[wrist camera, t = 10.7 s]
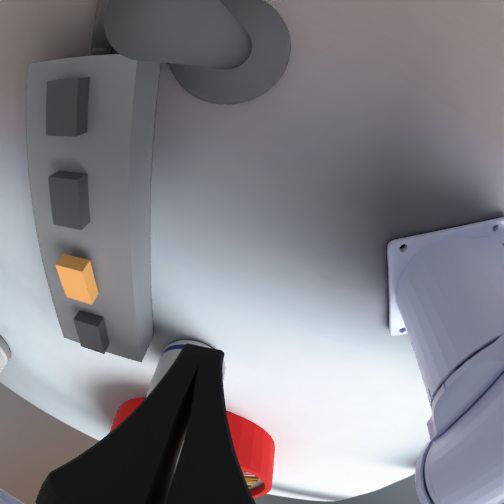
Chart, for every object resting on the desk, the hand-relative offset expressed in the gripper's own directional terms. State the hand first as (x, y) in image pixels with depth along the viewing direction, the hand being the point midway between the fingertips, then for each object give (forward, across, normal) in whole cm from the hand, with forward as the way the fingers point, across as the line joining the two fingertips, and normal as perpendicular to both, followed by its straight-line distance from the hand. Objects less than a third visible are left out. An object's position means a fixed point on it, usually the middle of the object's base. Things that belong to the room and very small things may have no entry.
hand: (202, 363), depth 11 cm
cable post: (+9, +2, -11) cm, 14 cm away
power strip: (+9, +9, -4) cm, 13 cm away
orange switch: (+6, +9, +2) cm, 11 cm away
